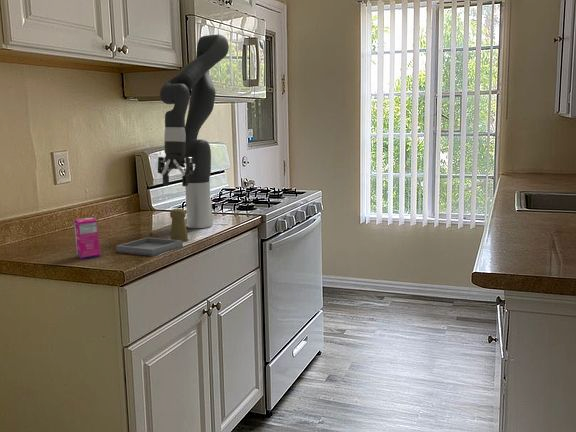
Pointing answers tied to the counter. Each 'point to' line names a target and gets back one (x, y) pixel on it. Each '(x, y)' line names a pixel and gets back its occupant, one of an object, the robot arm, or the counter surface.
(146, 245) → the tray
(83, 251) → the supplement box
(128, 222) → the counter surface
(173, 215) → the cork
